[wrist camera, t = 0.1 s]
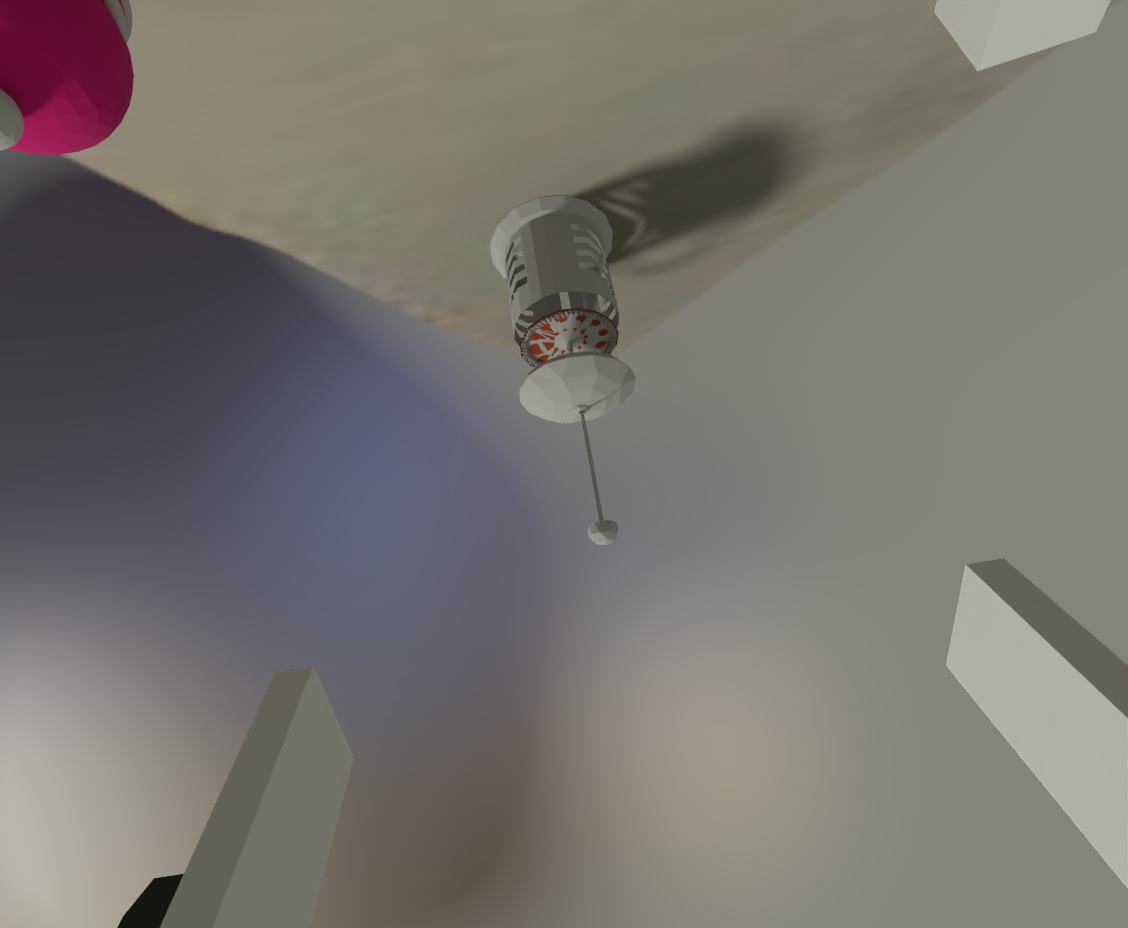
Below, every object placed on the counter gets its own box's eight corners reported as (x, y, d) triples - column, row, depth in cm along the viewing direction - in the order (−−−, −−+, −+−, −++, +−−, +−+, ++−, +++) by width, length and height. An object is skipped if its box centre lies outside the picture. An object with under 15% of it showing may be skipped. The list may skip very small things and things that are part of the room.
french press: (605, 180, 45) (683, 497, 34) (621, 289, 55) (686, 559, 44) (473, 214, 46) (506, 533, 35) (513, 315, 56) (550, 586, 45)
